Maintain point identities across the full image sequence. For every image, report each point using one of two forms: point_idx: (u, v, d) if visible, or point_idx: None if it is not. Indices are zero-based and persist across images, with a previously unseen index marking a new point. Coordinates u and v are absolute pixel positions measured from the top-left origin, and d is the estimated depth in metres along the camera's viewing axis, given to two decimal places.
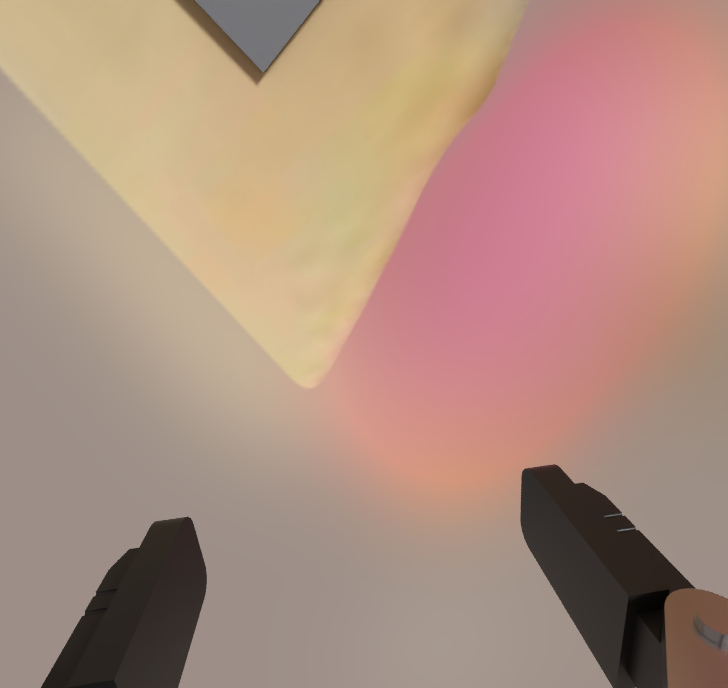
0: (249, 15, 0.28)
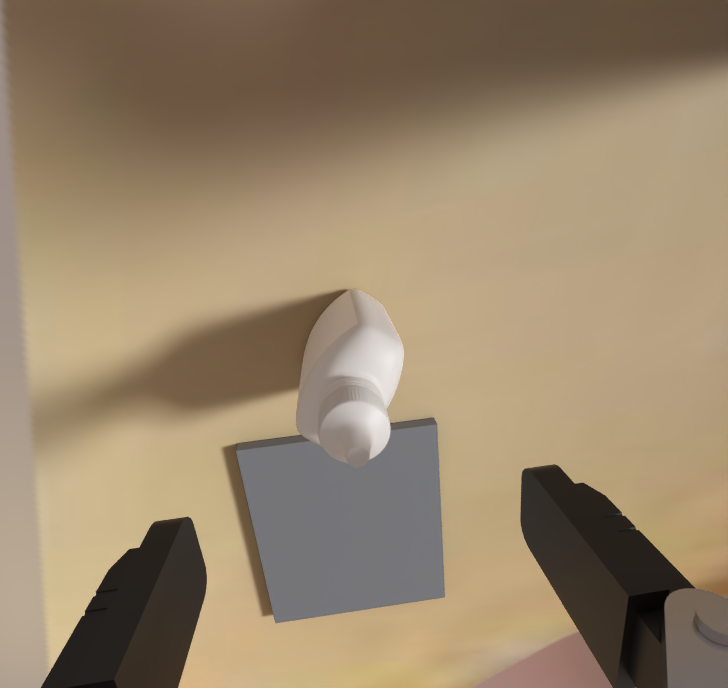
0: (296, 591, 0.29)
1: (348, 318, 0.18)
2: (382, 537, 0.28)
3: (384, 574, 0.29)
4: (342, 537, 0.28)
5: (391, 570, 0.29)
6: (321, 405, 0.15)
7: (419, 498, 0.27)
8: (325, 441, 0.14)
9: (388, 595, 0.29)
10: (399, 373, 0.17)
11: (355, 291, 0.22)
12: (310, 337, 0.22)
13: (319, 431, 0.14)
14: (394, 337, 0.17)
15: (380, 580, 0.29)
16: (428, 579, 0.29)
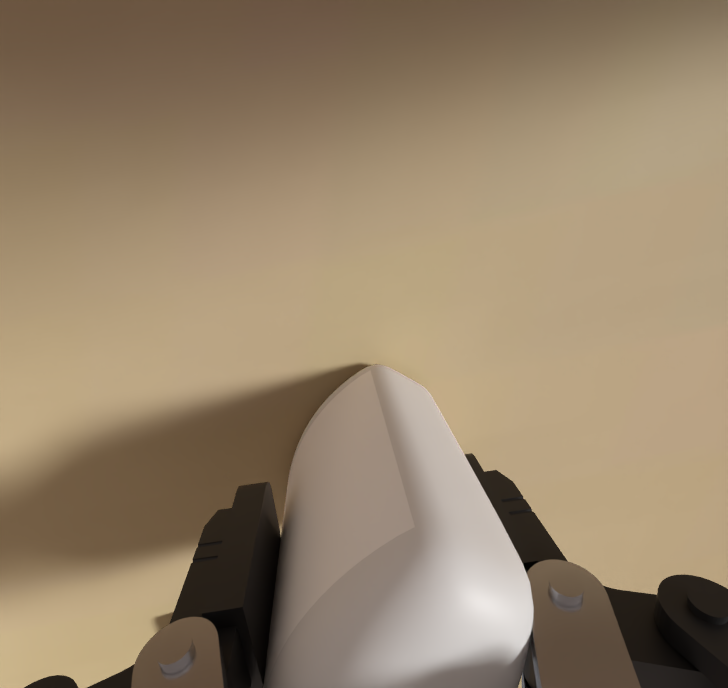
0: None
1: (382, 480, 0.08)
2: None
3: None
4: None
5: None
6: None
7: None
8: None
9: None
10: None
11: (383, 374, 0.12)
12: (299, 458, 0.12)
13: None
14: (508, 555, 0.07)
15: None
16: None
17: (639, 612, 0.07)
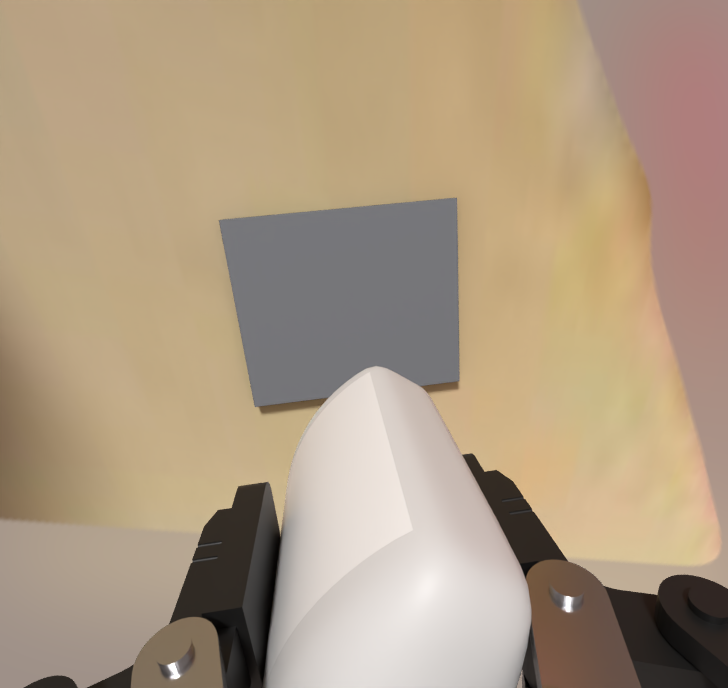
0: (421, 360, 0.28)
1: (381, 483, 0.08)
2: (361, 274, 0.26)
3: (412, 271, 0.26)
4: (357, 315, 0.27)
5: (407, 263, 0.26)
6: None
7: (312, 235, 0.25)
8: None
9: (442, 266, 0.27)
10: None
11: (382, 376, 0.12)
12: (298, 460, 0.12)
13: None
14: (505, 558, 0.07)
15: (419, 276, 0.27)
16: (427, 219, 0.26)
17: (639, 612, 0.07)
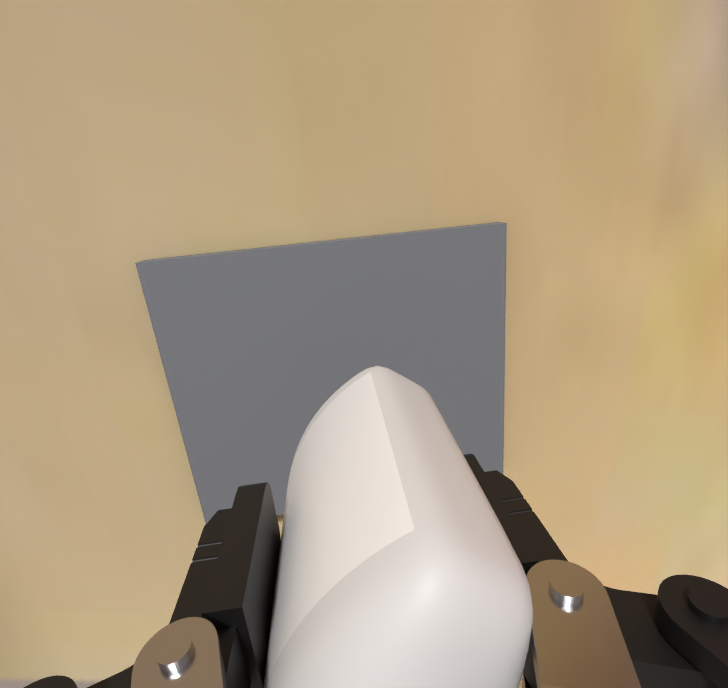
0: None
1: (382, 483, 0.08)
2: (359, 339, 0.17)
3: (436, 332, 0.17)
4: None
5: (429, 321, 0.17)
6: None
7: (284, 283, 0.16)
8: None
9: (482, 324, 0.18)
10: (524, 661, 0.06)
11: (383, 376, 0.12)
12: (299, 460, 0.12)
13: None
14: (507, 558, 0.07)
15: (447, 339, 0.18)
16: (459, 256, 0.17)
17: (639, 612, 0.07)
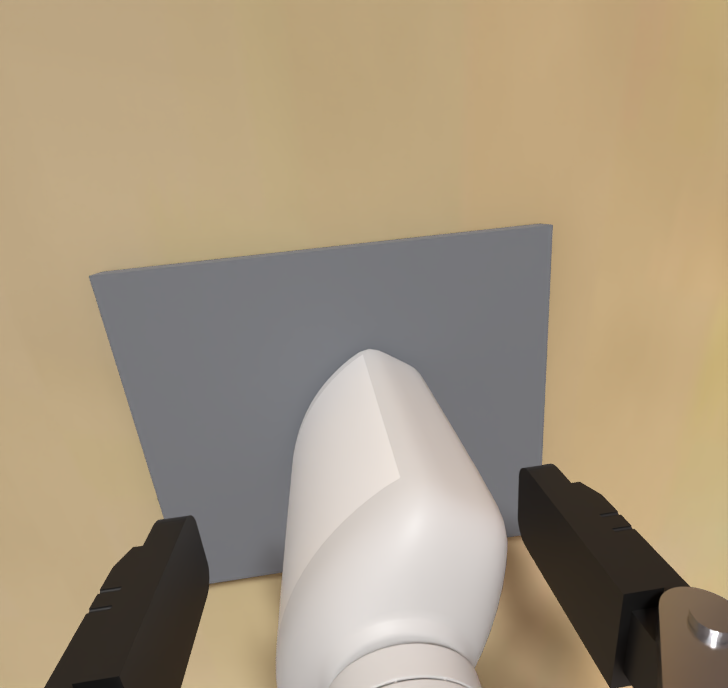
0: None
1: (373, 444, 0.09)
2: None
3: (463, 359, 0.14)
4: None
5: (455, 346, 0.14)
6: None
7: (276, 300, 0.13)
8: None
9: (519, 348, 0.14)
10: (502, 586, 0.07)
11: (374, 357, 0.13)
12: (301, 439, 0.13)
13: None
14: (483, 499, 0.07)
15: (476, 366, 0.14)
16: (494, 266, 0.13)
17: None
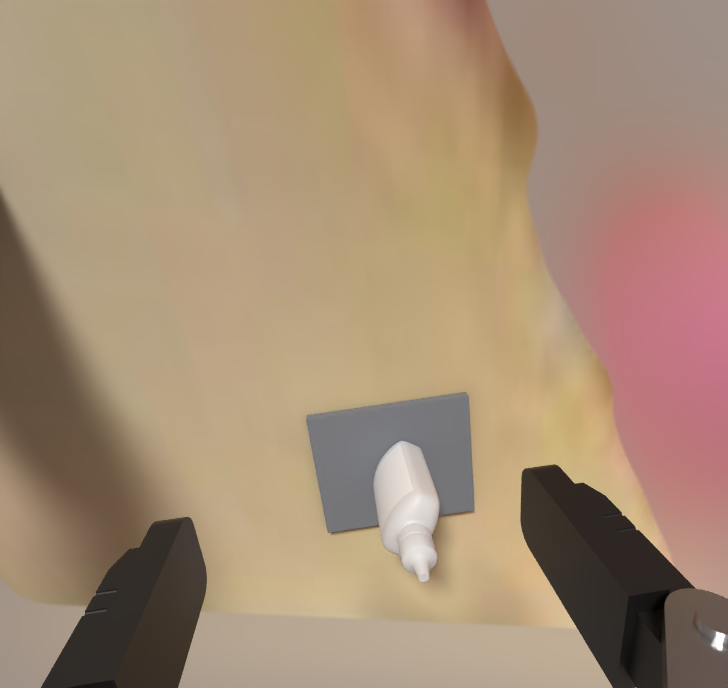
0: (445, 498, 0.39)
1: (406, 480, 0.32)
2: None
3: (438, 442, 0.38)
4: None
5: (434, 437, 0.37)
6: (400, 543, 0.29)
7: (368, 424, 0.36)
8: (405, 565, 0.28)
9: (459, 438, 0.38)
10: (438, 515, 0.30)
11: (404, 446, 0.36)
12: (378, 474, 0.36)
13: (402, 560, 0.28)
14: (434, 495, 0.31)
15: (443, 445, 0.38)
16: (447, 410, 0.37)
17: None
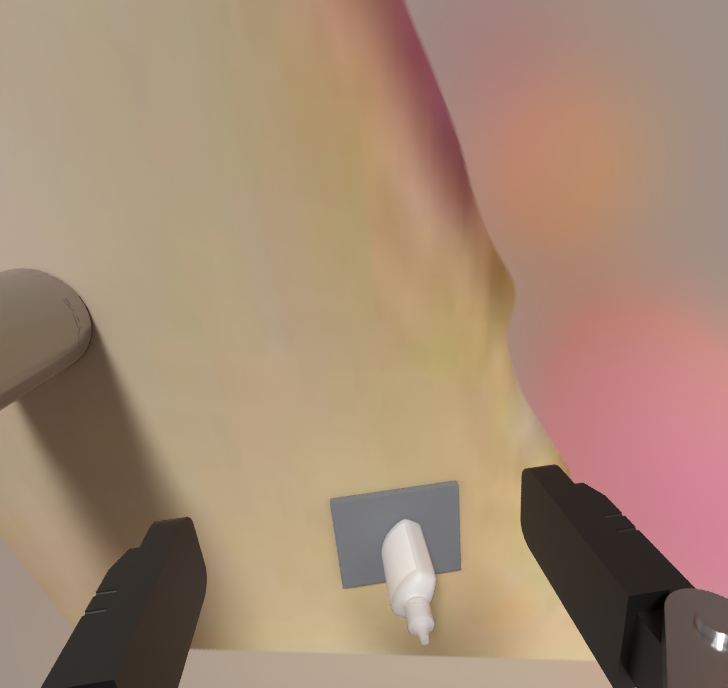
0: (438, 560, 0.49)
1: (410, 559, 0.41)
2: None
3: (433, 519, 0.47)
4: None
5: (431, 516, 0.47)
6: (406, 612, 0.38)
7: (379, 507, 0.46)
8: (411, 631, 0.37)
9: (450, 515, 0.47)
10: (434, 588, 0.40)
11: (407, 524, 0.45)
12: (386, 546, 0.46)
13: (408, 627, 0.37)
14: (431, 572, 0.40)
15: (437, 521, 0.47)
16: (441, 495, 0.46)
17: None
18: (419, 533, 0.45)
